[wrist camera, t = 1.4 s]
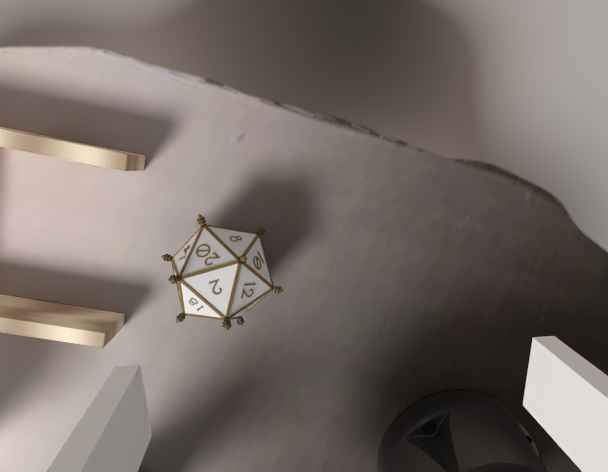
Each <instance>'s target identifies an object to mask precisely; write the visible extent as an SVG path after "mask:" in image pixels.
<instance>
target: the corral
mask: <svg viewBox="0 0 608 472" xmlns="http://www.w3.org/2000/svg"><path fill="white" fill-rule="evenodd" d="M0 147H5V148H10V149H15V150H21V151H26V152H31V153H36V154H41V155H46V156H51V157H56V158H61V159H67V160H72V161H77V162H82V163H87V164H92V165H97V166H102V167H107V168H113V169H118V170H123V171H139V170H144V166H145V158H146V156H145V155H140V154H135V153H130V152H125V151H120V150H115V149H110V148H105V147H100V146H95V145H90V144H85V143H80V142H75V141H70V140H65V139H60V138H55V137H50V136H45V135H40V134H35V133H30V132H25V131H20V130H15V129H10V128H5V127H0ZM124 317H125V314H123V313H116V312H110V311H104V310H97V309H91V308H85V307H78V306H72V305H66V304H60V303H53V302H47V301H41V300H34V299H28V298H22V297H16V296H9V295H3V294H0V332H2V333H8V334H15V335H22V336H28V337H35V338H42V339H48V340H55V341H62V342H69V343H75V344H82V345H89V346H95V347H102V348H103V347H104V346H105V345H106V344H107V343H108V342H109V341H110V340H111V339H112V338H113V337H114V336H115V335H116V334H117V333H118V332H119V331H120V329H121V328H122V327H123V324H124Z"/></svg>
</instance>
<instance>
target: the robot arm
mask: <svg viewBox="0 0 608 472" xmlns="http://www.w3.org/2000/svg"><path fill="white" fill-rule="evenodd" d="M523 406H524V407H525V408H526V409H527V410H528V412H529V413H530V414H531V415H532V416H533V417H534V418H535V419H536V421H537V422H538V423H539V424H540V425H541V426H542V427H543V428H544V430H545V431H546V432H547V433H548V434H549V435H550V436H551V437H552V438H553V440H554V441H555V442H556V443H557V444H558V445H559V446H560V447H561V449H562V450H563V451H564V452H565V453H566V454H567V455H568V456H569V458H570V459H571V460H572V461H573V462H574V463H575V464H576V465H577V466H578V468H579V469H580V470H581V471H582V472H608V376H607V375H606V374H604V373H603V372H602V371H600V370H599V369H598V368H596V367H595V366H594V365H592V364H591V363H590V362H588V361H587V360H586V359H584V358H583V357H582V356H580V355H579V354H578V353H576V352H575V351H574V350H572V349H571V348H570V347H568V346H567V345H566V344H564V343H563V342H562V341H560V340H559V339H558V338H556V337H555V336H545V337H533V339H532V346H531V352H530V359H529V366H528V372H527V379H526V386H525V392H524V399H523ZM151 437H152V432H151V426H150V420H149V415H148V409H147V403H146V397H145V391H144V385H143V379H142V373H141V368H140V365H132V366H117V367H115V368H114V370H113V371H112V373H111V374H110V376H109V377H108V379H107V380H106V382H105V383H104V385H103V386H102V388H101V389H100V391H99V393H98V394H97V396H96V397H95V399H94V400H93V402H92V403H91V405H90V406H89V408H88V409H87V411H86V412H85V414H84V415H83V417H82V418H81V420H80V422H79V423H78V425H77V426H76V428H75V429H74V431H73V432H72V434H71V435H70V437H69V438H68V440H67V441H66V443H65V444H64V446H63V447H62V449H61V451H60V452H59V454H58V455H57V457H56V458H55V460H54V461H53V463H52V464H51V466H50V467H49V469H48V470H47V472H138V470H139V467H140V465H141V462H142V460H143V457H144V455H145V452H146V449H147V447H148V444H149V442H150V439H151ZM377 471H378V472H547V470H546V468H545V466H544V464H543V463H542V461H541V460H540V458H539V454H538V450H537V447H536V445H535V443H534V440H533V438H532V436H531V435H530V433H529V432H528V430H527V429H526V427H525V426H524V425H523V424H522V423H521V421H520V420H519V419H518V418H517V417H516V416H515V415H514V414H513V413H512V412H511V411H510V410H509V409H508V408H507V407H506V406H505V405H504V404H502V403H501V402H499V401H498V400H496V399H494V398H492V397H490V396H488V395H485V394H482V393H478V392H474V391H464V390H457V391H447V392H442V393H438V394H435V395H432V396H429V397H427V398H425V399H422V400H421V401H419V402H417V403H415V404H414V405H412V406H411V407H409V408H408V409H407V410H405V411H404V412H403V413H402V414H401V415H400V416H399V417H398V418H397V419H396V420H395V421H394V423H393V424H392V425H391V426H390V428H389V429H388V431H387V433H386V434H385V436H384V439H383V441H382V443H381V446H380V449H379V454H378V460H377Z"/></svg>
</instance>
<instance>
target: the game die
mask: <svg viewBox="0 0 608 472" xmlns="http://www.w3.org/2000/svg"><path fill="white" fill-rule="evenodd" d="M197 221H198V222H199V224H200V225H201V227H200V228H199V229H198V230H197V232H196V233H195V234H194V235H193V236H192V237H191V238H190V239H189V240H188V241H187V242H186V243H185V245H184V246H183V247H182V248H181V249H180V250H179V251H178V252H177V253H176V254H175V255H174V256H173V257H172V256H170V255H168V254H166V255H163V256H161V257H162V258H163V259H164V260H165V261H166V260H167V261H171V262H172V267H173V271H174V276H173V275H171V277H170V278H169V279H168V280H169V281H171V282H172V283H173V284H174V283H176V284H177V289H178V293H179V298H180V302H181V307H182V311H183V312H182V313H181V314H179V316H177V320H176V323H177V322H181V321H183V319H185V316H186V315H189V316H197V317H204V318H211V319H219V320H224V322H223V324H224V325H223V327H225V328H226V329H227V330H228V329H229V328H230V327H231V323H230V320H231V319H235V318H237V323H238V324H239V325H241V326H242V325H243V322H244V320H243V318H242V317H241V316H242V315H243V314H245V313H246V312H247V311H248V310H249V309H250V308H252V307H253V306H254V305H255V304H256V303H258V302H259V301H260V300H261V299H262V298H264V297H265V296H266V295H267V294H268V293H269V292H271V291H272V290H273V291H275V293H276V292H277V293H278V294H279V293H281V292H284V290H283V289H282V288H281V287H278V286H273V282H272V278H271V275H270V271H269V267H268V264H267V260H266V256H265V253H264V249H263V245H262V242H261V238H260V235H262V234H263V233H264V232H266V226H264V227H260V229H258V232H257V233H254V232H248V231H242V230H236V229H230V228H224V227H218V226H212V225H206V224H205V222H206V221H205V218H204V217H203V216H201V215H200V214H199V217H198V220H197Z"/></svg>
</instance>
